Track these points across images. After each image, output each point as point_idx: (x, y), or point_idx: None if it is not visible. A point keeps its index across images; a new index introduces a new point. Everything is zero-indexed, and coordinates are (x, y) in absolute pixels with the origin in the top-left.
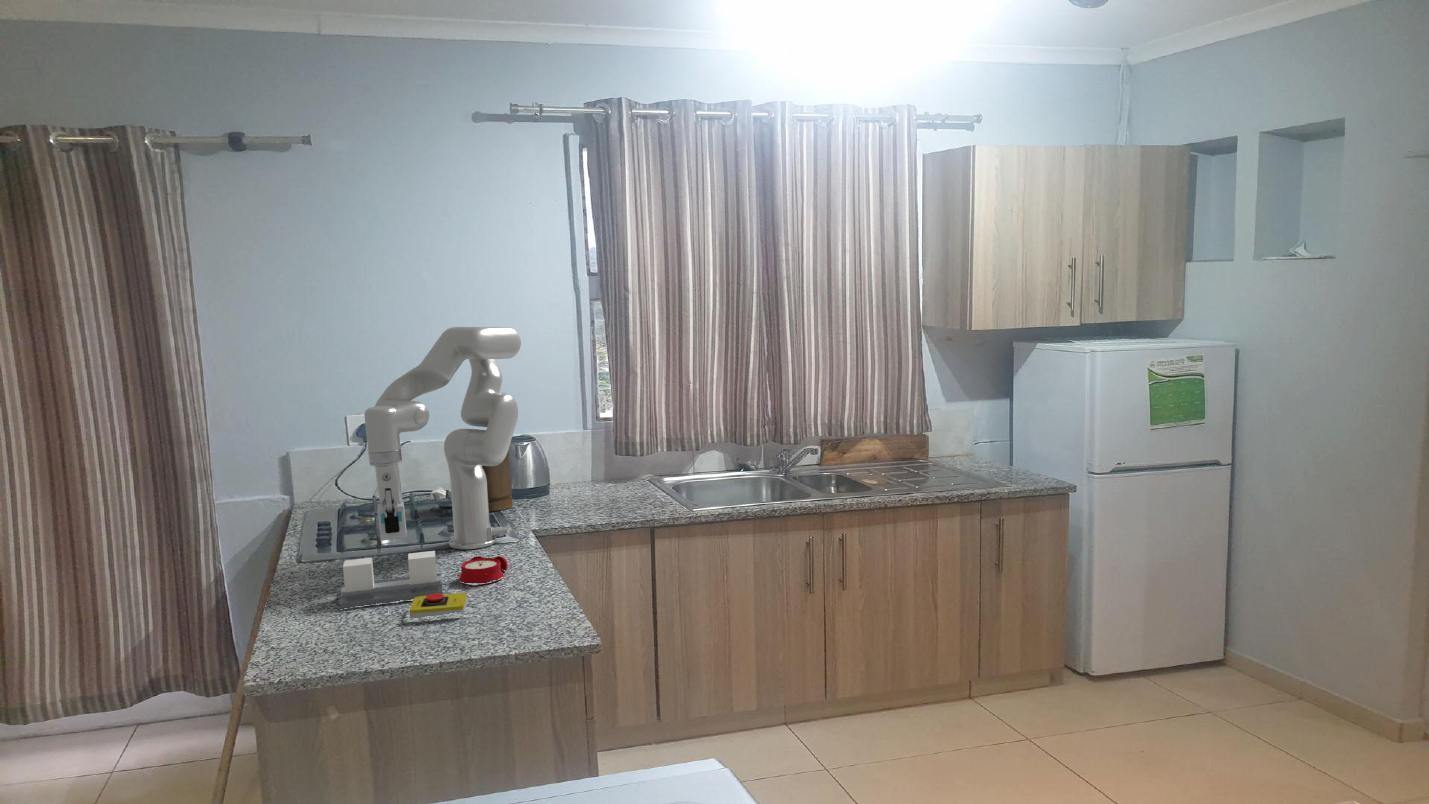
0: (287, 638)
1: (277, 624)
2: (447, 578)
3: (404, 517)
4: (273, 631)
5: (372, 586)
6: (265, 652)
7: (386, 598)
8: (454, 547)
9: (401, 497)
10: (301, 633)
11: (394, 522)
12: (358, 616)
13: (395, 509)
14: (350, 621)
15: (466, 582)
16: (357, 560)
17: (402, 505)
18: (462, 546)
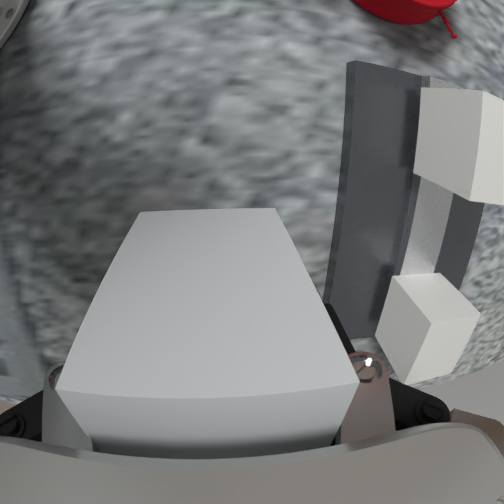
0: (483, 354)
1: (428, 383)
2: (344, 43)
3: (274, 280)
4: (449, 378)
5: (443, 277)
6: (498, 360)
7: (475, 235)
8: (2, 43)
9: (374, 502)
10: (482, 343)
11: (344, 336)
12: (484, 278)
13: (392, 409)
14: (492, 288)
15: (433, 17)
16: (428, 356)
17: (327, 393)
18: (18, 12)
